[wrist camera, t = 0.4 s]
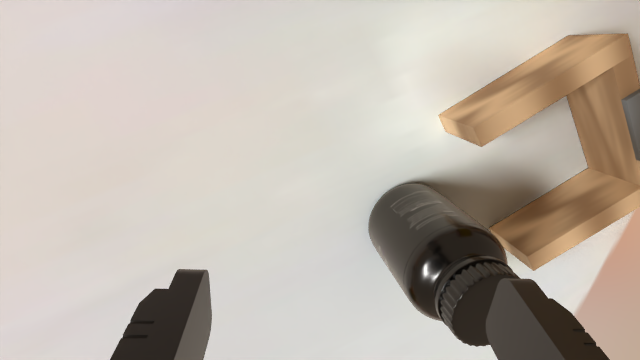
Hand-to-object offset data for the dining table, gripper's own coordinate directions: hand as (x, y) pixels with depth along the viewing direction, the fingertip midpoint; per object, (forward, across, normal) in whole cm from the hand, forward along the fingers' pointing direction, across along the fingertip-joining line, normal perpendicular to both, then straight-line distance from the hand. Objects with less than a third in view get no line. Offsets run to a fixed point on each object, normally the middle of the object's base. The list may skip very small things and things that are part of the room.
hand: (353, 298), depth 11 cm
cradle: (+21, -17, +3) cm, 27 cm away
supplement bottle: (+19, -8, +9) cm, 23 cm away
